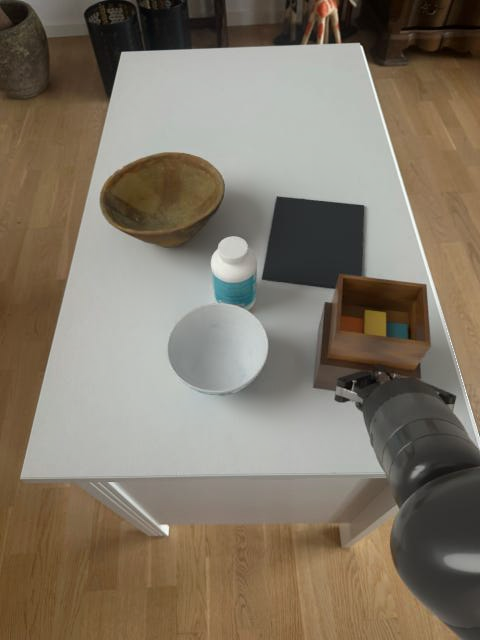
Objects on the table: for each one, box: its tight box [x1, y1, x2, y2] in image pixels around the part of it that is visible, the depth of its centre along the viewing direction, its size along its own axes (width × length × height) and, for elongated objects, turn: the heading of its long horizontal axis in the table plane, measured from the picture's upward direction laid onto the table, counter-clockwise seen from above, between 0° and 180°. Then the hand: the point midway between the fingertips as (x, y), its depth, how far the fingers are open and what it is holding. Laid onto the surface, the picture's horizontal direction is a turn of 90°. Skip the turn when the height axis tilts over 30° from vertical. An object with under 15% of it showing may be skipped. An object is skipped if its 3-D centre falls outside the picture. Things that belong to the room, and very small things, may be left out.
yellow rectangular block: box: [363, 310, 386, 336], centre depth 63 cm, size 4×3×1 cm, turn 170°
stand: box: [312, 301, 422, 392], centre depth 68 cm, size 14×11×8 cm
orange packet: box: [340, 316, 363, 333], centre depth 64 cm, size 4×3×1 cm, turn 80°
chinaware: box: [166, 302, 270, 397], centre depth 68 cm, size 15×15×8 cm
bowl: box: [99, 151, 226, 248], centre depth 84 cm, size 22×23×10 cm
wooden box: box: [328, 274, 432, 371], centre depth 62 cm, size 12×10×7 cm
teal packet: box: [386, 322, 408, 339], centre depth 64 cm, size 4×3×1 cm, turn 80°
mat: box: [261, 195, 365, 290], centre depth 86 cm, size 18×22×1 cm
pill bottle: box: [210, 235, 258, 311], centre depth 73 cm, size 8×7×14 cm
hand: (379, 372), depth 56 cm, fingers closed
